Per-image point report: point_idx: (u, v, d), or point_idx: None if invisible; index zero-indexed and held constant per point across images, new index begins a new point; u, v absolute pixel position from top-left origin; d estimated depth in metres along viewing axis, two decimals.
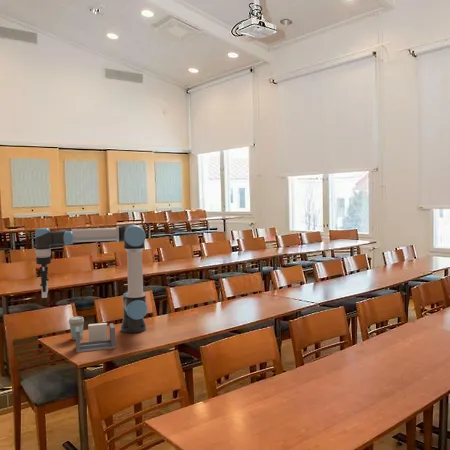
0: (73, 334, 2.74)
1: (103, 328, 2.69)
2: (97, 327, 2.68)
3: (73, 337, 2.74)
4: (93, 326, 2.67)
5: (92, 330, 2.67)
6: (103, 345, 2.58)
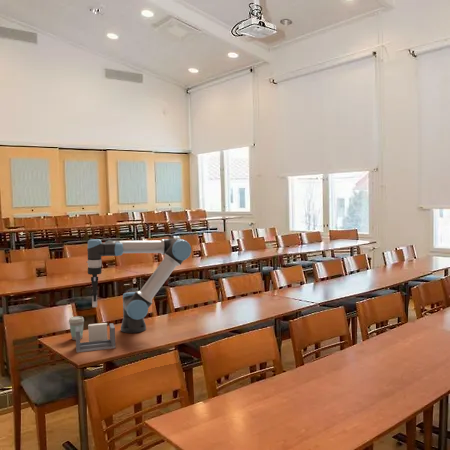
0: (73, 334, 2.74)
1: (103, 328, 2.69)
2: (97, 327, 2.68)
3: (73, 337, 2.74)
4: (93, 326, 2.67)
5: (92, 330, 2.67)
6: (103, 345, 2.58)
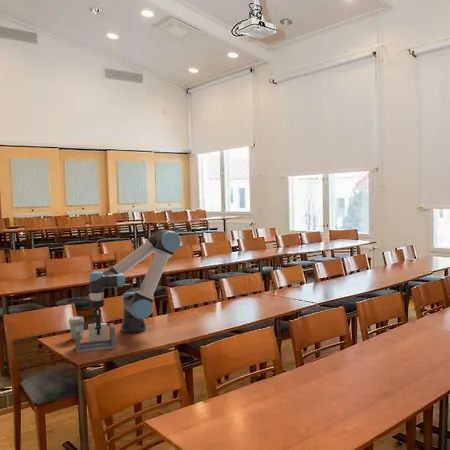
0: (73, 334, 2.74)
1: (103, 328, 2.69)
2: None
3: (73, 337, 2.74)
4: (93, 326, 2.67)
5: (92, 330, 2.67)
6: (103, 345, 2.58)
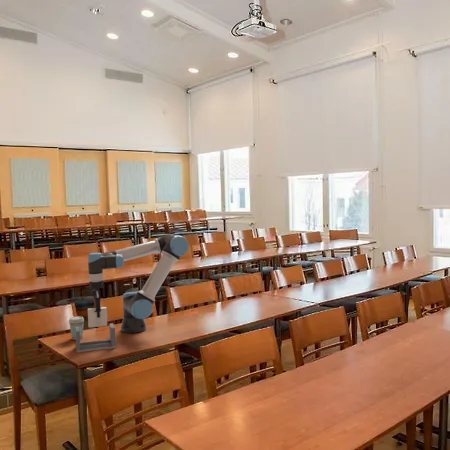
0: (73, 334, 2.74)
1: (103, 312, 2.69)
2: None
3: (73, 337, 2.74)
4: (92, 310, 2.67)
5: (91, 314, 2.67)
6: (103, 345, 2.58)
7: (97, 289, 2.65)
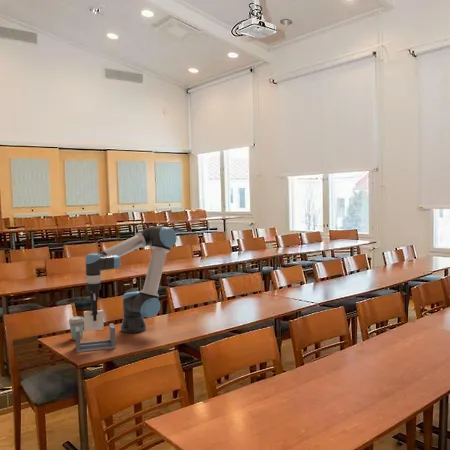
0: (73, 334, 2.74)
1: (99, 315, 2.58)
2: None
3: (73, 337, 2.74)
4: (89, 313, 2.57)
5: (87, 317, 2.56)
6: (103, 345, 2.58)
7: (94, 291, 2.55)
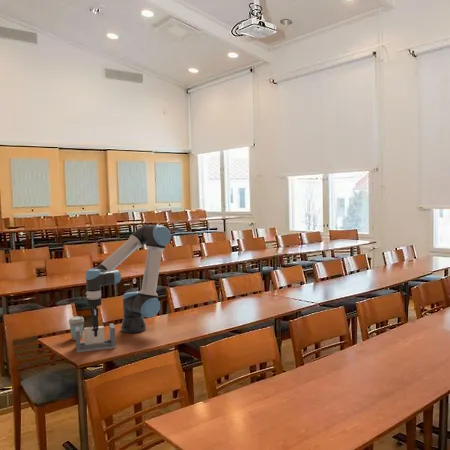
0: (73, 334, 2.74)
1: (100, 332, 2.59)
2: None
3: (73, 337, 2.74)
4: (89, 330, 2.57)
5: (88, 333, 2.57)
6: (103, 345, 2.58)
7: (95, 307, 2.56)
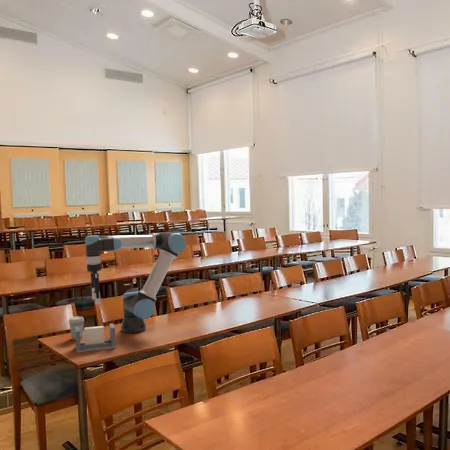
0: (73, 334, 2.74)
1: (100, 332, 2.59)
2: (93, 330, 2.58)
3: (73, 337, 2.74)
4: (89, 330, 2.57)
5: (88, 333, 2.57)
6: (103, 345, 2.58)
7: None
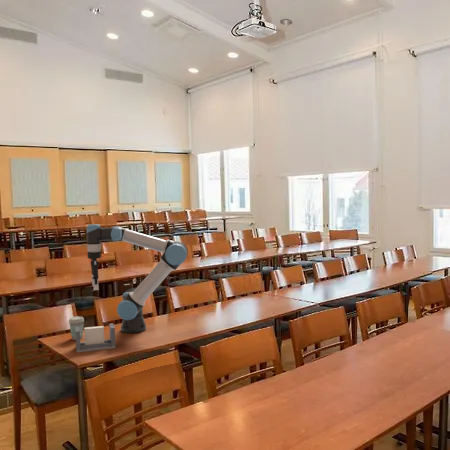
0: (73, 334, 2.74)
1: (100, 332, 2.59)
2: (93, 330, 2.58)
3: (73, 337, 2.74)
4: (89, 330, 2.57)
5: (88, 333, 2.57)
6: (103, 345, 2.58)
7: None
